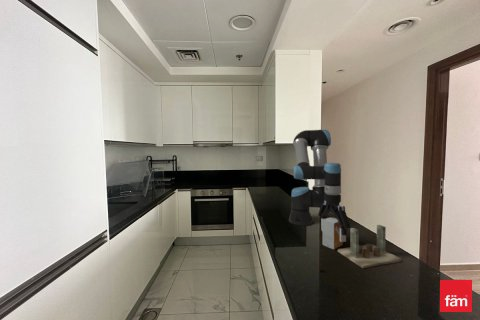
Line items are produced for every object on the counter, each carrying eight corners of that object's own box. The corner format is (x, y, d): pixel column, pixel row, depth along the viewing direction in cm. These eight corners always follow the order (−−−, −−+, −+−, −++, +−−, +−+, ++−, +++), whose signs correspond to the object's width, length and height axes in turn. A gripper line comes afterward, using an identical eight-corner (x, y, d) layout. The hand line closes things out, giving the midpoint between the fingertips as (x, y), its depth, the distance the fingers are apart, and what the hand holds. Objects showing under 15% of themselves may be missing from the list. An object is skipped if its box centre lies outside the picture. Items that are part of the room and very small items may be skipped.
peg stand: (337, 251, 92) (337, 224, 91) (372, 246, 96) (372, 220, 96) (362, 268, 78) (362, 236, 78) (401, 261, 83) (401, 231, 82)
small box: (334, 250, 93) (334, 223, 93) (322, 244, 98) (322, 219, 98) (343, 245, 98) (343, 219, 97) (331, 240, 103) (331, 216, 103)
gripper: (311, 190, 108) (311, 227, 109) (345, 199, 84) (345, 247, 84) (323, 189, 110) (323, 226, 110) (359, 198, 86) (359, 245, 86)
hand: (332, 235), depth 97 cm, fingers open, 13 cm apart
